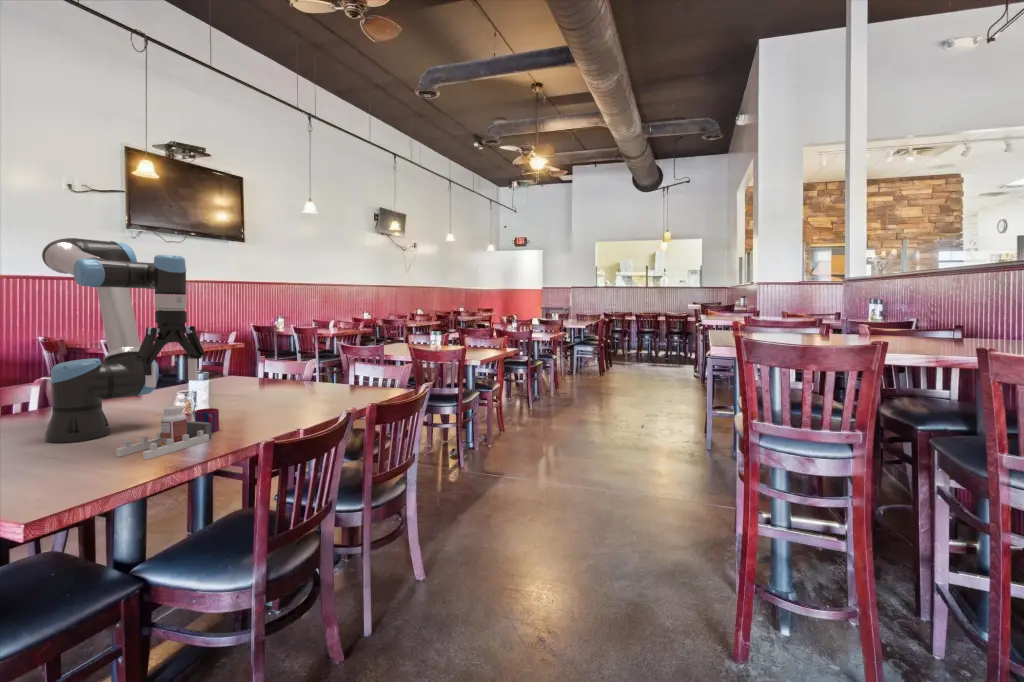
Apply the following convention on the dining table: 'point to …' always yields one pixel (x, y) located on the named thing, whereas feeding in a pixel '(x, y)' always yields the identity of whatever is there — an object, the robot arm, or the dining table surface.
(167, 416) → the pill bottle
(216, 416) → the mug
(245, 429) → the dining table surface
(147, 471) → the dining table surface
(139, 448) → the comb channel
